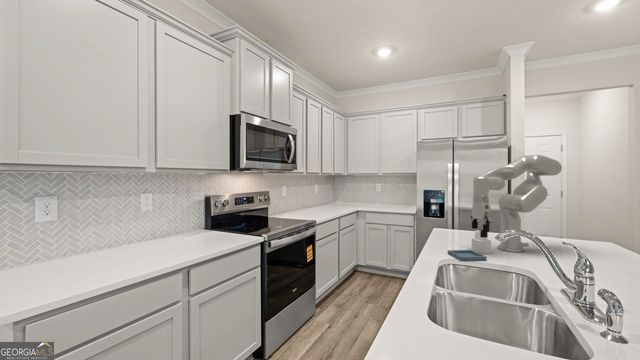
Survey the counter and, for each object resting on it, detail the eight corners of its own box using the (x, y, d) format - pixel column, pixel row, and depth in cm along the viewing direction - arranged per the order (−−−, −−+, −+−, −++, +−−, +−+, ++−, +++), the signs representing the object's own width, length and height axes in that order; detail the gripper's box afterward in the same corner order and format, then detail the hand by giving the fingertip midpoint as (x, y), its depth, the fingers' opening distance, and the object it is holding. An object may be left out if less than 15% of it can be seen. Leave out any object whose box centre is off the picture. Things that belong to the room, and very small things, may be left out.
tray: (470, 253, 148) (470, 249, 148) (486, 260, 135) (486, 256, 135) (447, 253, 148) (447, 250, 148) (461, 261, 135) (461, 257, 135)
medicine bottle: (484, 250, 155) (484, 229, 154) (491, 254, 147) (491, 231, 147) (471, 250, 155) (471, 229, 155) (477, 253, 148) (477, 231, 148)
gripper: (498, 200, 143) (497, 233, 143) (477, 198, 160) (476, 227, 160) (484, 200, 142) (483, 232, 142) (465, 197, 160) (464, 227, 160)
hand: (480, 230), depth 151 cm, fingers open, 9 cm apart
